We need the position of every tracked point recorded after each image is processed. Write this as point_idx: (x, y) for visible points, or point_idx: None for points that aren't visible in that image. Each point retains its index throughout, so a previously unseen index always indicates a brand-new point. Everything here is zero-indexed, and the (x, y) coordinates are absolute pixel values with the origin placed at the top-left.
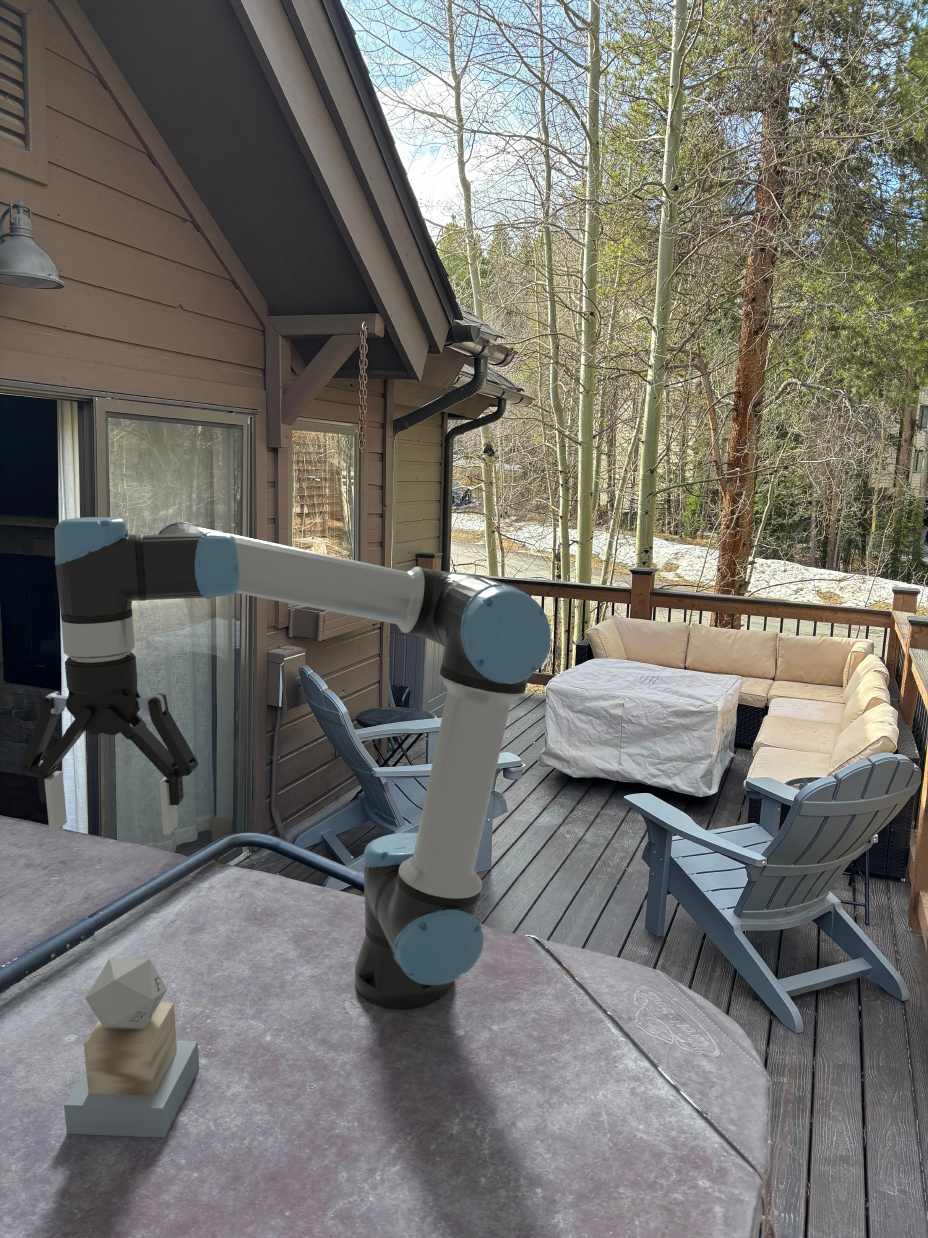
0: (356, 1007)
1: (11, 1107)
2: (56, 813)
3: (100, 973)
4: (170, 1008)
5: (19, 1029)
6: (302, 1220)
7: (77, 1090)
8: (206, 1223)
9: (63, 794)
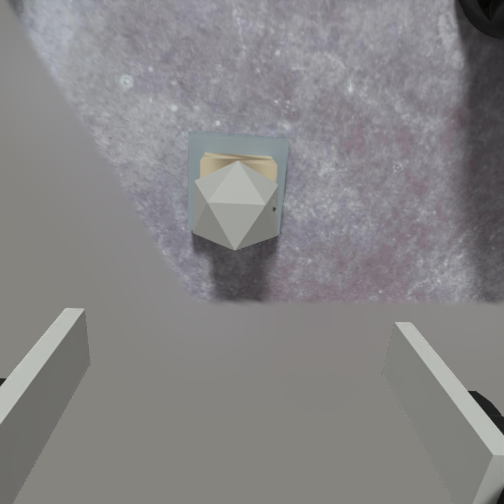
0: (451, 30)
1: (122, 188)
2: (68, 388)
3: (201, 215)
4: (276, 175)
5: (55, 62)
6: (390, 297)
7: (191, 212)
8: (325, 299)
9: (41, 374)
